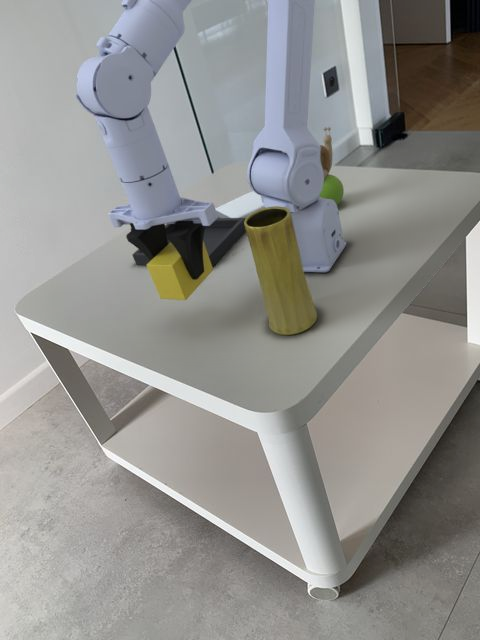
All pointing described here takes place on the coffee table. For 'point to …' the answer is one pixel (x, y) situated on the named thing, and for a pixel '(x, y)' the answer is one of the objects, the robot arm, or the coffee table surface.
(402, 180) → the coffee table surface
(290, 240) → the vase
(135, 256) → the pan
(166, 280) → the sponge
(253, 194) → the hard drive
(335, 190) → the snail figurine
